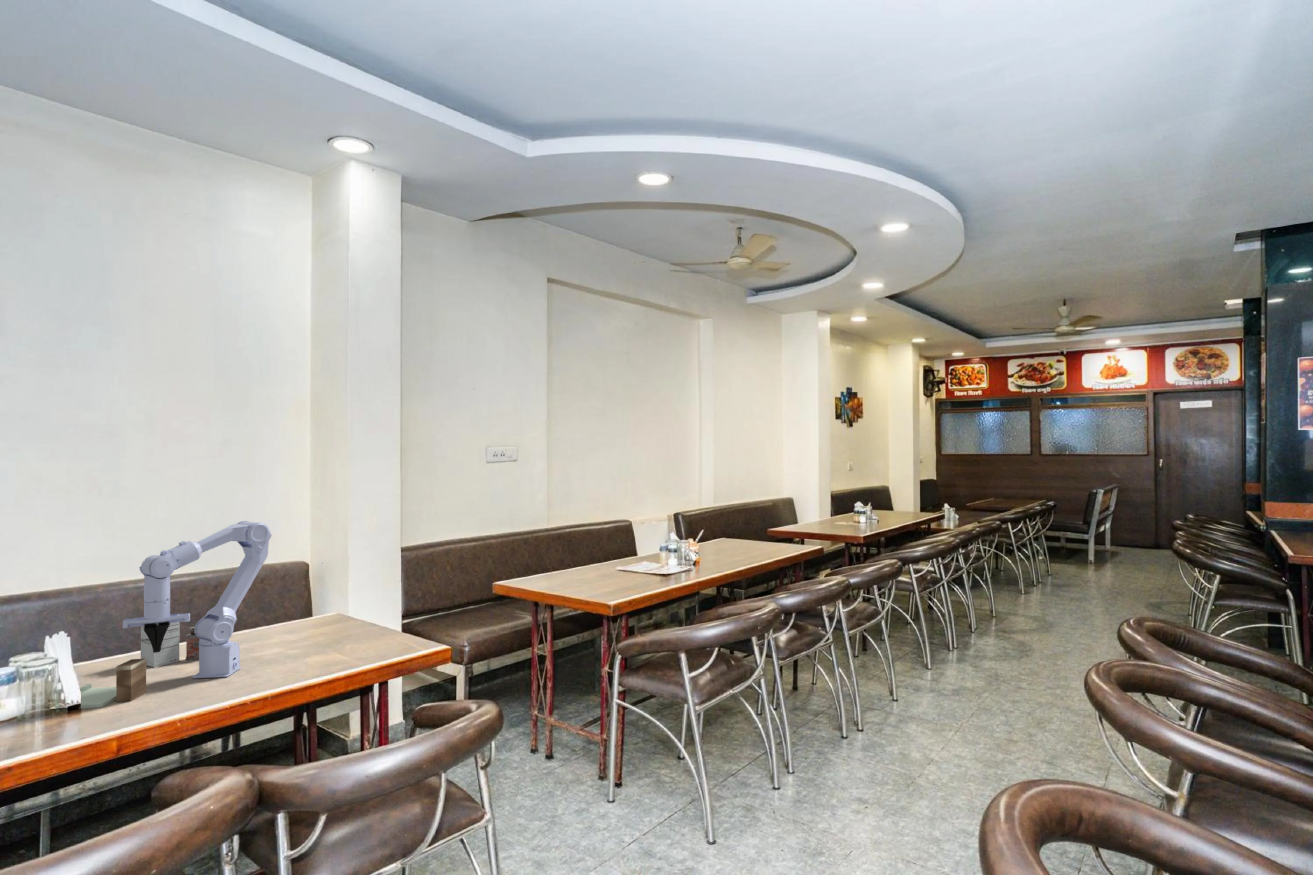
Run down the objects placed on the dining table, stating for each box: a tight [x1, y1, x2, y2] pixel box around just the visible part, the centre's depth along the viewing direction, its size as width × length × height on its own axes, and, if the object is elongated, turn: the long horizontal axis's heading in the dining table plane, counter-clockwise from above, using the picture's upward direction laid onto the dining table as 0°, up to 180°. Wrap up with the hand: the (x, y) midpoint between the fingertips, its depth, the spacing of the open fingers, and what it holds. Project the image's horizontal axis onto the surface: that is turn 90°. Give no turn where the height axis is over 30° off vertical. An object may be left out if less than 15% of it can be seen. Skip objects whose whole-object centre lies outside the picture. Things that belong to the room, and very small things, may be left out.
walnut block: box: [115, 658, 147, 703], centre depth 178 cm, size 4×6×9 cm, turn 5°
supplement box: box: [140, 622, 180, 668], centre depth 207 cm, size 7×7×13 cm
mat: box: [79, 683, 116, 709], centre depth 177 cm, size 12×13×2 cm
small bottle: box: [185, 626, 199, 662], centre depth 211 cm, size 8×3×10 cm, turn 105°
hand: (157, 651), depth 184 cm, fingers closed
